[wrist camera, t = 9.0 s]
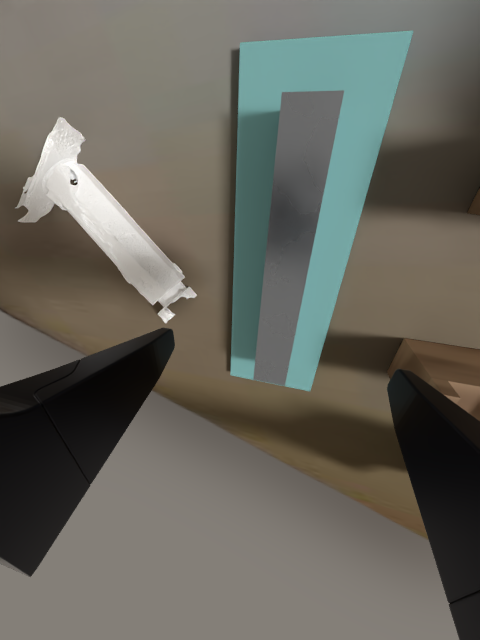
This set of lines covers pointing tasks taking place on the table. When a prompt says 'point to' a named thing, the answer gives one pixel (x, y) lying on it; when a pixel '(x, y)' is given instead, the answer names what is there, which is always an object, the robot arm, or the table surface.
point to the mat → (341, 184)
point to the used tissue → (100, 219)
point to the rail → (293, 221)
